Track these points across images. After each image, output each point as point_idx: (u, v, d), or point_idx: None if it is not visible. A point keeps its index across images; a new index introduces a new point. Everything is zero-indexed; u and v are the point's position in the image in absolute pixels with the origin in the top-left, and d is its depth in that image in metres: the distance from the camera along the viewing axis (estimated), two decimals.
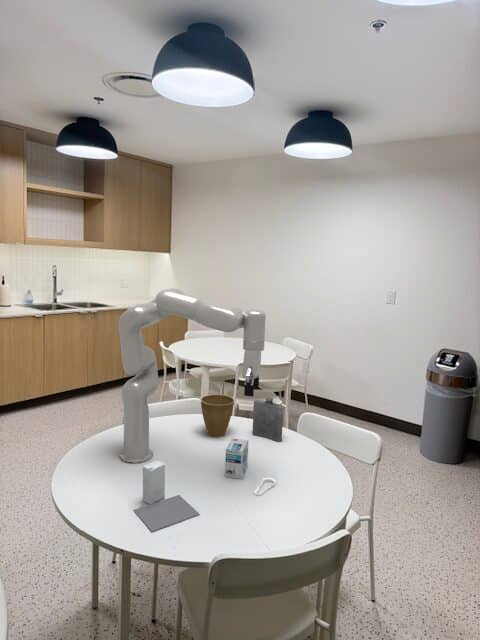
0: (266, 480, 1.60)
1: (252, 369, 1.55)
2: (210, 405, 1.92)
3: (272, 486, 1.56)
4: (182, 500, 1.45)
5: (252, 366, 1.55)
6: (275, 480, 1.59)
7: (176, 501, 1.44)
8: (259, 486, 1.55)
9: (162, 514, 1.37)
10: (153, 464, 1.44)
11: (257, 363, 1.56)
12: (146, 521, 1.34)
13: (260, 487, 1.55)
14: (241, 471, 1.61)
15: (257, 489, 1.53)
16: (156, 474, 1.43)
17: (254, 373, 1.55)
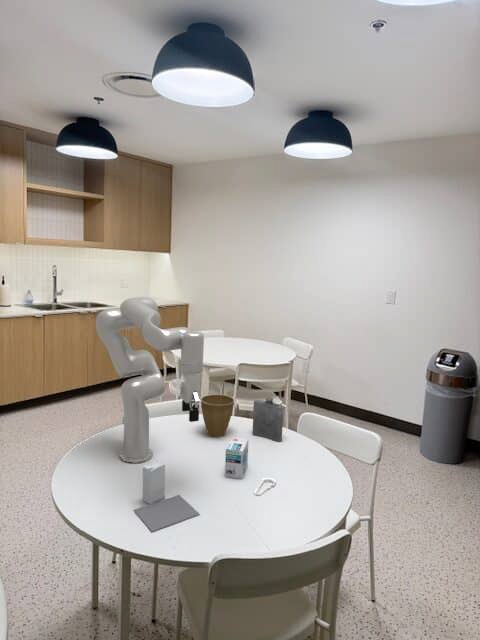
0: (266, 480, 1.60)
1: (197, 393, 1.49)
2: (210, 405, 1.92)
3: (272, 486, 1.56)
4: (182, 500, 1.45)
5: (197, 390, 1.48)
6: (275, 480, 1.59)
7: (176, 501, 1.44)
8: (259, 486, 1.55)
9: (162, 514, 1.37)
10: (153, 464, 1.44)
11: None
12: (146, 521, 1.34)
13: (260, 487, 1.55)
14: (241, 471, 1.61)
15: (257, 489, 1.54)
16: (156, 474, 1.43)
17: (199, 397, 1.49)
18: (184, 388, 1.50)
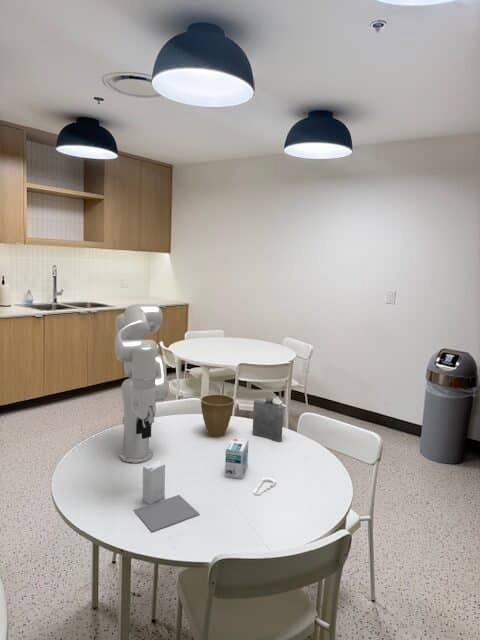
0: (265, 480, 1.60)
1: (153, 408, 1.44)
2: (210, 405, 1.92)
3: (271, 486, 1.56)
4: (182, 500, 1.45)
5: (152, 405, 1.44)
6: (274, 480, 1.59)
7: (176, 501, 1.44)
8: (258, 486, 1.55)
9: (162, 514, 1.37)
10: (153, 464, 1.44)
11: None
12: (146, 521, 1.34)
13: (259, 487, 1.55)
14: (241, 471, 1.61)
15: (256, 489, 1.54)
16: (156, 474, 1.43)
17: (154, 411, 1.45)
18: (138, 404, 1.44)
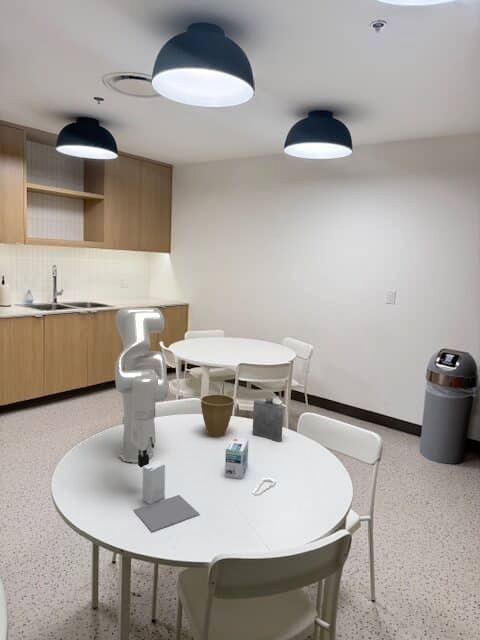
0: (265, 480, 1.60)
1: (152, 439, 1.46)
2: (210, 405, 1.92)
3: (271, 486, 1.56)
4: (182, 500, 1.45)
5: (152, 436, 1.46)
6: (274, 480, 1.59)
7: (176, 501, 1.44)
8: (258, 486, 1.55)
9: (162, 514, 1.37)
10: (153, 464, 1.44)
11: None
12: (146, 521, 1.34)
13: (259, 487, 1.56)
14: (241, 471, 1.61)
15: (256, 489, 1.54)
16: (156, 474, 1.43)
17: (154, 442, 1.47)
18: (138, 435, 1.46)
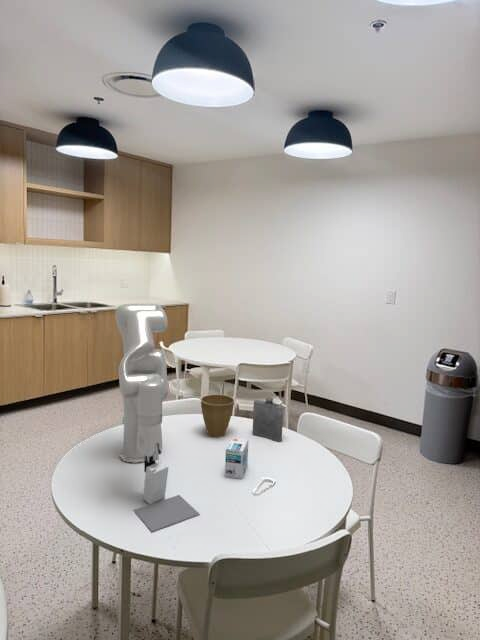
0: (265, 480, 1.60)
1: (159, 445, 1.42)
2: (210, 405, 1.92)
3: (271, 486, 1.56)
4: (182, 500, 1.45)
5: (159, 442, 1.42)
6: (274, 480, 1.59)
7: (176, 501, 1.44)
8: (257, 485, 1.55)
9: (162, 514, 1.37)
10: (157, 465, 1.43)
11: None
12: (146, 521, 1.34)
13: (258, 486, 1.56)
14: (241, 471, 1.61)
15: (255, 488, 1.54)
16: (159, 476, 1.42)
17: (161, 448, 1.43)
18: (144, 441, 1.42)
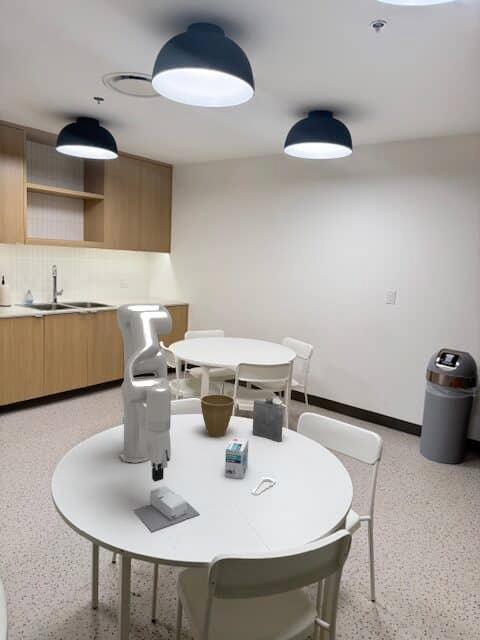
0: (265, 480, 1.60)
1: (168, 452, 1.37)
2: (210, 405, 1.92)
3: (270, 486, 1.56)
4: None
5: (167, 449, 1.37)
6: (274, 480, 1.59)
7: None
8: (257, 485, 1.55)
9: (162, 514, 1.37)
10: (180, 509, 1.36)
11: None
12: (146, 521, 1.34)
13: (258, 487, 1.56)
14: (241, 471, 1.61)
15: (255, 488, 1.54)
16: None
17: (169, 455, 1.38)
18: (152, 448, 1.37)
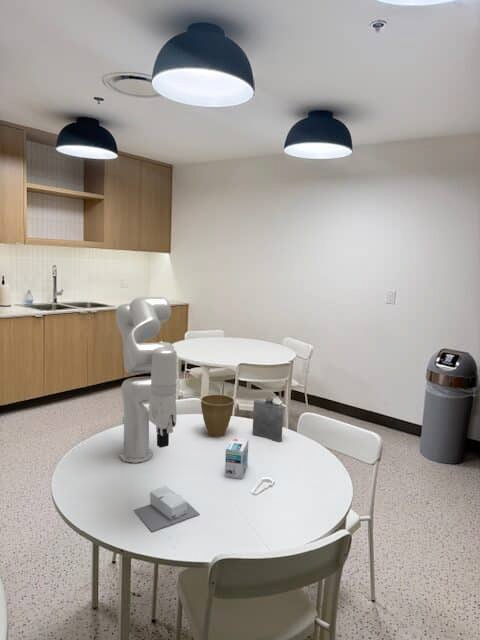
0: (264, 480, 1.60)
1: (173, 417, 1.33)
2: (210, 405, 1.92)
3: (270, 486, 1.56)
4: None
5: (173, 413, 1.33)
6: (273, 480, 1.59)
7: None
8: (256, 485, 1.56)
9: (162, 514, 1.37)
10: (180, 509, 1.36)
11: None
12: (146, 521, 1.34)
13: (257, 486, 1.56)
14: (241, 471, 1.61)
15: (254, 488, 1.54)
16: None
17: (175, 420, 1.34)
18: (157, 412, 1.33)
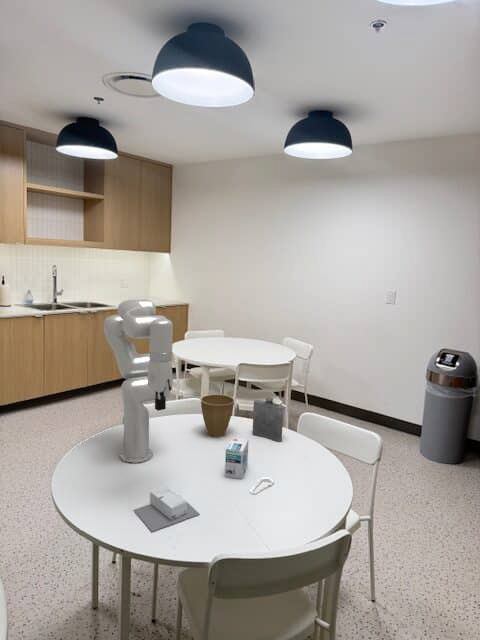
0: (264, 480, 1.60)
1: (170, 381, 1.47)
2: (210, 405, 1.92)
3: (269, 486, 1.56)
4: None
5: (169, 378, 1.47)
6: (273, 480, 1.59)
7: None
8: (256, 485, 1.56)
9: (162, 514, 1.37)
10: (180, 509, 1.36)
11: None
12: (146, 521, 1.34)
13: (257, 486, 1.56)
14: (241, 471, 1.61)
15: (253, 488, 1.54)
16: None
17: (171, 385, 1.48)
18: (155, 377, 1.47)
